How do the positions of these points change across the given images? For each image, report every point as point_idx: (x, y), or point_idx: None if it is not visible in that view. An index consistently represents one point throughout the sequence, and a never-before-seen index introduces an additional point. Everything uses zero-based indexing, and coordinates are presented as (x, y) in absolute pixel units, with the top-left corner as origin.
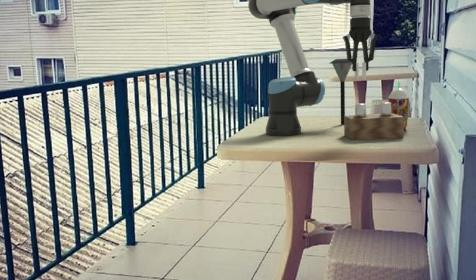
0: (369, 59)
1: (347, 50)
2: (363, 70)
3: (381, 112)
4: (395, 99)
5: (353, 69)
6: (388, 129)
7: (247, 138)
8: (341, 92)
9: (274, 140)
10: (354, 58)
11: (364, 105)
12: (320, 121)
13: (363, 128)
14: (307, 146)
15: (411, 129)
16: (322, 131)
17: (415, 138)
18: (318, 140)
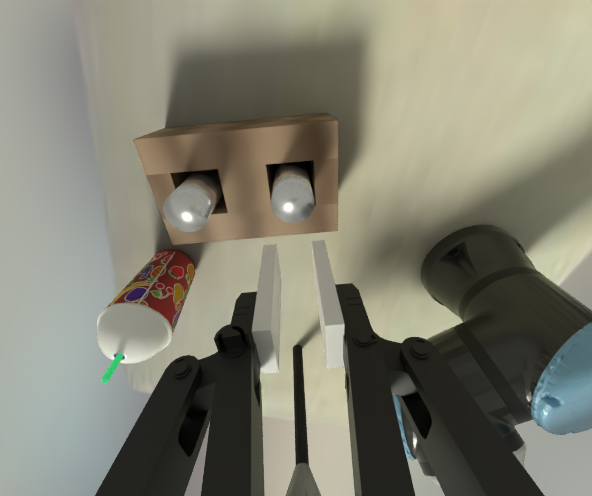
0: (209, 371)
1: (528, 480)
2: (275, 294)
3: (213, 191)
4: (147, 305)
5: (357, 292)
6: (205, 127)
7: (587, 208)
8: (304, 424)
9: (540, 158)
10: (377, 366)
11: (278, 185)
12: (334, 385)
13: (291, 120)
14: (505, 2)
15: (142, 262)
16: (366, 274)
17: (127, 103)
18: (424, 130)
